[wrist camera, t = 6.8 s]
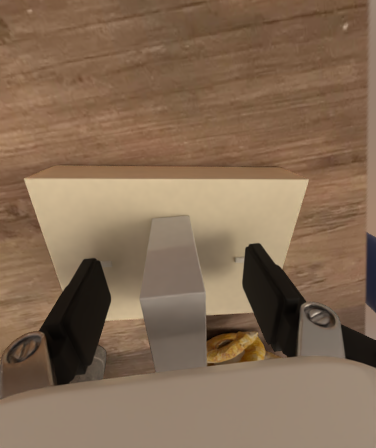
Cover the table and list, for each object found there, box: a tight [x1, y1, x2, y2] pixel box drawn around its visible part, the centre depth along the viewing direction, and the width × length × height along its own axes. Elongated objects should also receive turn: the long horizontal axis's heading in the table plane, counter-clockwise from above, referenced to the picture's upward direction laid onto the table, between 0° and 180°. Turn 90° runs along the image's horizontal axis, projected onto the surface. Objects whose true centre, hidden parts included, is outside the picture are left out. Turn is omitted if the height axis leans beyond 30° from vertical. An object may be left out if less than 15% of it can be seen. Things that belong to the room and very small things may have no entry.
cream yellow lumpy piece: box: [207, 331, 282, 366], centre depth 20 cm, size 10×6×15 cm
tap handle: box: [139, 216, 207, 373], centre depth 10 cm, size 6×2×6 cm, turn 3°
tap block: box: [24, 165, 309, 321], centre depth 14 cm, size 14×10×3 cm
